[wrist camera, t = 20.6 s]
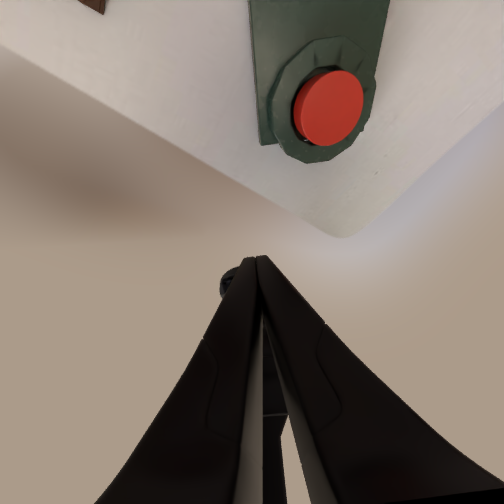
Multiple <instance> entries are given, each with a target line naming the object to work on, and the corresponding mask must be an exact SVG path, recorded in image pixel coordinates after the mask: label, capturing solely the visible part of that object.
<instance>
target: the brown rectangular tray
mask: <svg viewBox="0 0 504 504" xmlns="http://www.w3.org/2000/svg"><path fill="white" fill-rule="evenodd" d="M78 1H80V2H81V3H83V4H84V5H86V6H88V7H90V8H91V9H93V10H95V11H97V12H99V13H100V14H102V15H103V14H104V5H105V0H78Z"/></svg>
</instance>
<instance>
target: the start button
mask: <svg viewBox="0 0 504 504" xmlns="http://www.w3.org/2000/svg"><path fill="white" fill-rule="evenodd" d="M362 108H363V91H362V87H361V84H360V82H359V81H358V79H357V78H356V77H355V76H354V75H353V74H351V73H350V72H347V71H342V70H338V71H331V72H325V73H321V74H318V75H316V76H314V77H312V78H311V79H309V80H308V81H307V82H306V83H305V84H304V86H303V87H302V88H301V90H300V91H299V93H298V95H297V98H296V101H295V104H294V112H293V115H294V122H295V125H296V128H297V130H298V131H299V132H300V134H301V135H303V136H304V137H305V138H307V139H308V140H310V141H311V142H313V143H314V144H317V145H320V146H329V145H333V144H335V143H337V142H339V141H341V140H342V139H344V138H345V137H346V136H347V135H348V134H349V133H350V132H351V131H352V130H353V128H354V127H355V125H356V124H357V122H358V120H359V118H360V115H361V112H362Z"/></svg>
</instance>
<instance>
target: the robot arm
mask: <svg viewBox="0 0 504 504" xmlns="http://www.w3.org/2000/svg"><path fill="white" fill-rule="evenodd" d="M255 259H256V260H255ZM221 284H222V287H223V291H224V294H225V295H224V297H223V299H222V301H221V303H220V305H219V307H218V309H217V311H216V313H215V315H214V317H213V319H212V320H211V322H210V324H209V326H208V328H207V330H206V332H205V334H204V336H203V339H202V340H201V341H200V343H199V345H198V347H197V349H196V351H195V353H194V355H193V357H192V358H191V361H190V362H189V364H188V366H187V368H186V370H185V371H184V373H183V375H182V376H181V378H180V379H179V381H178V382H177V384H176V386H175V387H174V389H173V391H172V392H171V394H170V395H169V397H168V398H167V400H166V401H165V403H164V405H163V406H162V408H161V409H160V411H159V412H158V414H157V415H156V417H155V418H154V420H153V422H152V423H151V425H150V426H149V428H148V430H147V431H146V432H145V434H144V435H143V437H142V439H141V440H140V442H139V443H138V445H137V446H136V448H135V449H134V451H133V452H132V454H131V456H130V457H129V459H128V460H127V462H126V463H125V465H124V466H123V468H122V469H121V470H120V472H119V473H118V475H117V476H116V477H115V479H114V480H113V481H112V483H111V484H110V485H109V486H108V488H107V489H106V490H105V491H104V493H103V494H102V495H101V496H100V497H99V498H98V500H97V501H96V502H95V503H94V504H287V497H286V487H285V477H284V468H283V458H282V448H281V434H282V431H283V428H284V425H285V423H286V419H287V417H288V415H289V418H290V423H291V427H292V430H293V434H294V438H295V442H296V446H297V450H298V454H299V458H300V462H301V464H302V469H303V474H304V477H305V481H306V485H307V489H308V493H309V497H310V501H311V504H504V482H503V481H501V480H500V479H499V478H497V477H496V476H494V475H493V474H491V473H490V472H488V471H486V470H485V469H484V468H482V467H481V466H479V465H478V464H476V463H475V462H474V461H472V460H471V459H469V458H468V457H467V456H465V455H464V454H463V453H462V452H460V451H459V450H458V449H456V448H455V447H454V446H452V445H451V444H450V443H449V442H448V441H446V440H445V439H444V438H443V437H442V436H441V435H439V434H438V433H437V432H436V431H435V430H434V429H433V428H432V427H430V425H428V424H427V423H426V422H425V421H424V420H423V419H422V418H421V417H420V416H419V415H418V414H417V413H416V412H415V411H413V410H412V409H411V408H410V407H409V406H408V405H407V404H406V403H405V402H404V401H403V400H402V399H401V398H400V397H399V396H398V395H396V394H395V393H394V392H393V391H392V390H391V389H390V388H389V387H388V386H387V385H386V384H385V383H384V382H383V381H382V380H380V379H379V378H378V377H377V376H376V375H375V374H374V373H373V372H372V371H371V370H370V369H369V368H368V367H367V366H366V365H365V364H364V363H363V362H362V361H361V360H360V359H359V358H358V357H357V356H356V355H355V354H354V353H353V352H351V350H350V349H349V348H348V347H347V346H346V345H345V344H344V343H343V342H342V341H341V339H340V338H338V336H337V335H336V334H335V333H334V332H333V331H332V329H331V328H330V327H329V326H328V325H327V324H325V322H324V320H323V319H322V318H321V317H320V316H319V315H318V314H317V313H316V311H315V310H314V309H313V308H312V307H311V306H310V304H309V303H308V302H307V301H306V300H305V299H304V297H303V296H302V295H301V294H300V293H299V292H298V291H297V289H296V288H295V287H294V286H293V285H292V284H291V283H290V281H289V280H288V279H287V278H286V277H285V276H284V275H283V273H282V272H281V271H280V270H279V269H278V268H277V267H276V265H275V264H274V263H273V262H272V261H271V260H270V259H269V257H268V256H266V255H262V256H256V258H255V257H247V258H244V259H243V261H242V262H241V264H240V266H239V268H238V270H237V272H236V274H235V276H234V277H231V278H224V279H222V280H221Z"/></svg>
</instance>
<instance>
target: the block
mask: <svg viewBox="0 0 504 504" xmlns="http://www.w3.org/2000/svg"><path fill="white" fill-rule="evenodd" d="M389 3H390V0H248V8H249V20H250V33H251V45H252V57H253V70H254V82H255V94H256V107H257V119H258V132H259V142H260V144H261V146H264V145H271V144H278V143H279V145H280V147H281V148H282V150H283V151H284V152H285V153H286V154H287V155H289V156H291V157H293V158H295V159H297V160H299V161H301V162H303V163H306V164H308V163H316V162H323V161H329V160H331V159H332V158H334V157H335V156H337V155H338V154H340V153H341V152H342V151H344V150H345V149H347V148H348V147H350V146H351V145H352V144H353V142H354V141H355V139H356V138H357V136H358V135H359V133H360V132H362V131H363V130H364V125H365V124H366V122H367V121H368V119H369V117H370V113H371V108H372V104H373V99H374V94H375V90H376V81H375V77H374V76H375V71H376V66H377V62H378V57H379V52H380V47H381V42H382V37H383V32H384V27H385V23H386V18H387V13H388V8H389ZM338 70H342V71H347V72H350V73H351V74H353V75H354V76H355V77H356V78H357V79H358V81H359V82H360V84H361V87H362V91H363V108H362V112H361V115H360V118H359V120H358V122H357V124H356V125H355V127H354V128H353V130H352V131H351V132H350V133H349V134H348V135H347V136H346V137H345V138H344V139H342V140H341V141H339V142H337V143H335V144H333V145H329V146H320V145H317V144H314V143H313V142H311V141H310V140H307V141H304V140H306V139H307V138H305V137H304V136H303V135H301V134H300V132H299V131H298V130H297V128H296V125H295V122H294V115H293V112H294V104H295V101H296V98H297V95H298V93H299V91H300V90H301V88H302V87H303V86H304V84H305V83H306V82H307V81H308V80H309V79H311V78H312V77H314V76H316V75H318V74H321V73H325V72H331V71H338Z"/></svg>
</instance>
